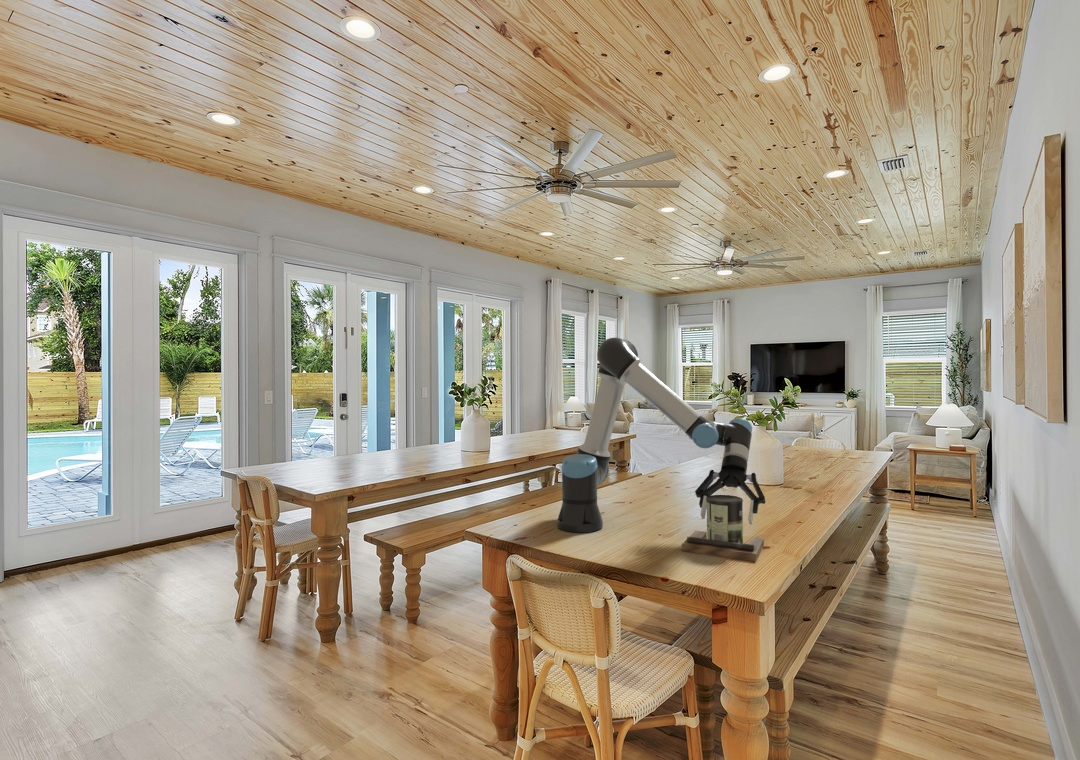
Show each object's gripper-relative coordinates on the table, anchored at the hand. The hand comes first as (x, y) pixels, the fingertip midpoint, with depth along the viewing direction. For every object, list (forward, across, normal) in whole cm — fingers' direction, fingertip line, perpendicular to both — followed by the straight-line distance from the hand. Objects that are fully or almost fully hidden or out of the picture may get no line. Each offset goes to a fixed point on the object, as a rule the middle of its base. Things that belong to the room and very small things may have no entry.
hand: (725, 519), depth 166 cm
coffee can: (+6, 0, -6) cm, 8 cm away
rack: (+8, 0, -4) cm, 8 cm away
